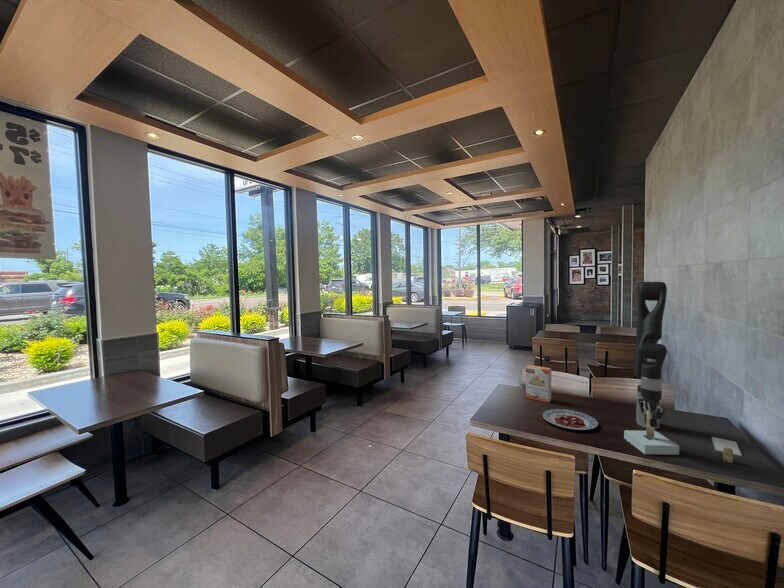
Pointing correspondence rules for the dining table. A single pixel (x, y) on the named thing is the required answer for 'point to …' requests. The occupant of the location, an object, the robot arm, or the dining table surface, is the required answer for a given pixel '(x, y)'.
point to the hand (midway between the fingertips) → (650, 424)
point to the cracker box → (538, 383)
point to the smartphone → (726, 445)
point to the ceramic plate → (570, 419)
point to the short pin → (728, 455)
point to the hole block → (651, 443)
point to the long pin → (649, 427)
